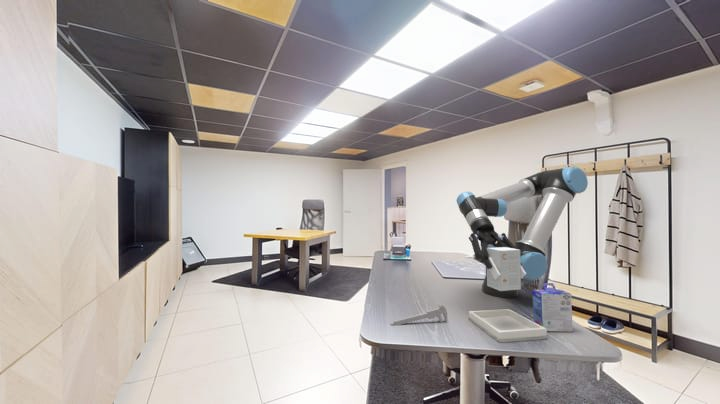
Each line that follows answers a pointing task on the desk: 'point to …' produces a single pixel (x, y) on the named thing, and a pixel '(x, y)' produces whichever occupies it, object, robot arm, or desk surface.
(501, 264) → the small box
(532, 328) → the tray
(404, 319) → the caliper
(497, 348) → the desk surface
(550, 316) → the ink cartridge box
